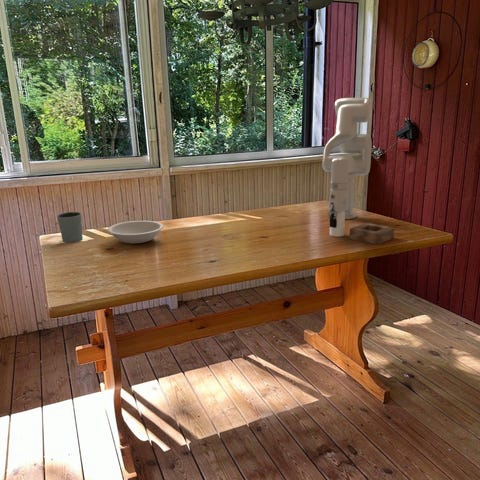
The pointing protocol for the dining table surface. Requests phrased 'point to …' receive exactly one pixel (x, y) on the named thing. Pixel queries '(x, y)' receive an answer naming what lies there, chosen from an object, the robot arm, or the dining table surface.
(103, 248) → the dining table surface
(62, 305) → the dining table surface
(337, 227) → the can
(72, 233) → the grey green cup
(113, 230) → the soup bowl
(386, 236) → the socket block
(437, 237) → the dining table surface
